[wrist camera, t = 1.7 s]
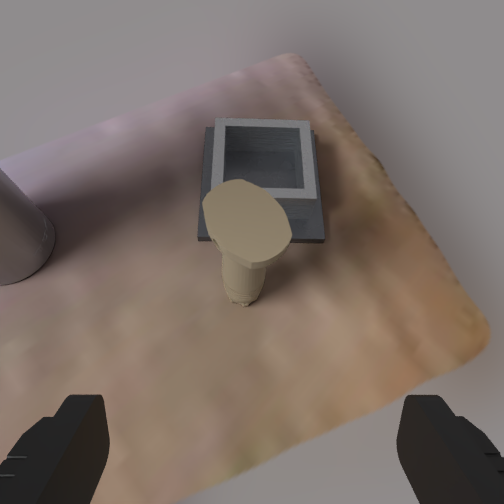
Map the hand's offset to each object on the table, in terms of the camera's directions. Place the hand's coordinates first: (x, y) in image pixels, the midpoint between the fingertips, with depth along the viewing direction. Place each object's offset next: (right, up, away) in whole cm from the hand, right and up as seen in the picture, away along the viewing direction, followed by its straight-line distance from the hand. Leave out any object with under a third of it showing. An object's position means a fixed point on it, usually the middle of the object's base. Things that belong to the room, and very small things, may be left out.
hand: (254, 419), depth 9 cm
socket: (+1, +13, +33) cm, 35 cm away
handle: (-1, 0, +27) cm, 27 cm away
